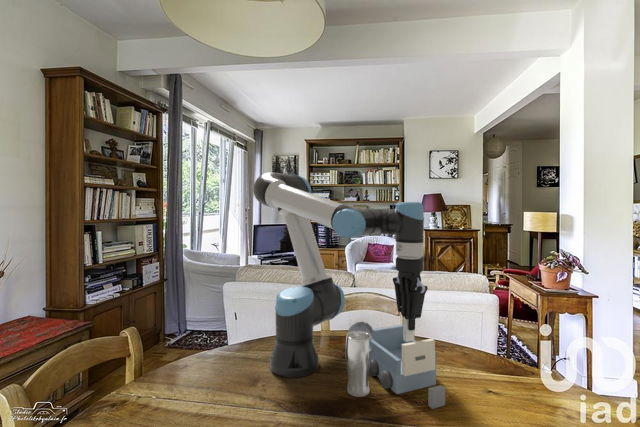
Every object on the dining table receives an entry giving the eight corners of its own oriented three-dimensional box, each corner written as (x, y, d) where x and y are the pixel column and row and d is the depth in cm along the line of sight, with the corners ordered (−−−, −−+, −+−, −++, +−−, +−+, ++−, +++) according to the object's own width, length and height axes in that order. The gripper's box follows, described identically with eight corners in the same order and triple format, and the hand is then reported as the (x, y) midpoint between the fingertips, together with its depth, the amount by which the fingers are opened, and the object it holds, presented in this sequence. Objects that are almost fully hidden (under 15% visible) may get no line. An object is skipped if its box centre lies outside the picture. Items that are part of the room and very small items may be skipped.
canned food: (373, 360, 117) (386, 338, 115) (358, 368, 109) (372, 344, 107) (350, 337, 123) (362, 316, 121) (335, 343, 116) (347, 321, 113)
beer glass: (370, 399, 85) (370, 342, 85) (343, 396, 87) (344, 339, 86) (371, 385, 92) (372, 331, 92) (346, 382, 93) (347, 329, 93)
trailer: (363, 369, 101) (363, 330, 101) (407, 360, 107) (408, 323, 107) (411, 414, 79) (412, 365, 79) (463, 400, 85) (464, 354, 85)
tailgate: (402, 374, 88) (401, 344, 88) (432, 367, 92) (431, 338, 92) (405, 376, 86) (404, 346, 87) (436, 369, 90) (435, 340, 90)
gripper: (385, 254, 97) (384, 333, 98) (412, 261, 85) (412, 351, 86) (406, 253, 100) (405, 330, 101) (436, 259, 88) (435, 347, 89)
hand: (408, 340), depth 93 cm, fingers closed
